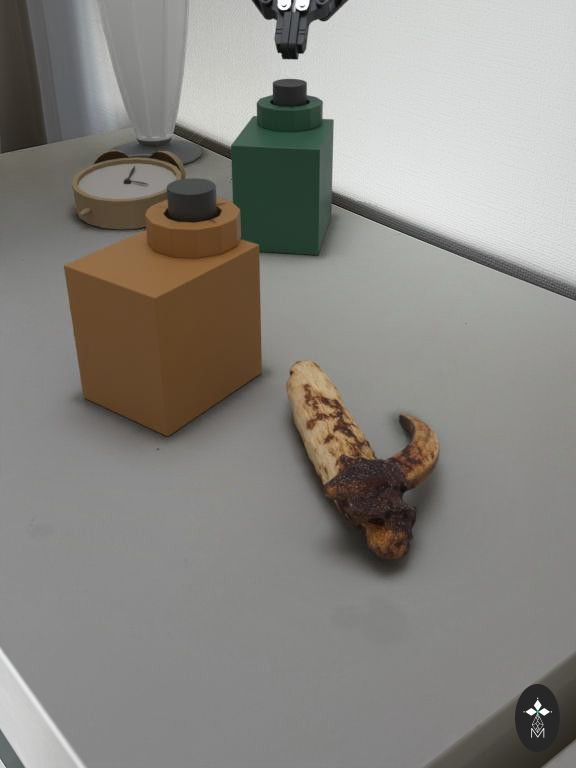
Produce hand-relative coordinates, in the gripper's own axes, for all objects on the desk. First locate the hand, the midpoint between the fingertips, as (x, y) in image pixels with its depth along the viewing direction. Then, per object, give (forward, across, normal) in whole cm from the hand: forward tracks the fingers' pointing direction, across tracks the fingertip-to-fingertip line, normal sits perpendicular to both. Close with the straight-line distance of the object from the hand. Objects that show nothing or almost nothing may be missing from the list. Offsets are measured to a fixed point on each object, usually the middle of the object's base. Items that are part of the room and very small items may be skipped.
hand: (289, 54), depth 80 cm
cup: (-2, -20, +25) cm, 32 cm away
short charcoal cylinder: (+3, 0, +3) cm, 5 cm away
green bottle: (+14, 0, +9) cm, 17 cm away
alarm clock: (+10, -17, +13) cm, 24 cm away
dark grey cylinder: (+24, -2, -18) cm, 30 cm away
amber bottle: (+34, -3, -12) cm, 37 cm away
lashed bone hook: (+40, +11, -17) cm, 45 cm away
